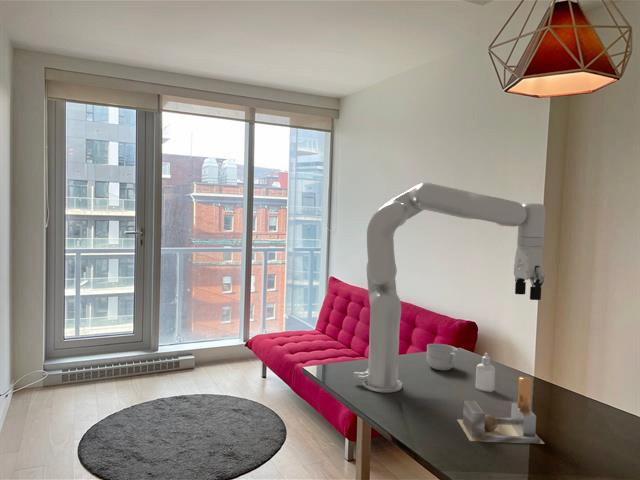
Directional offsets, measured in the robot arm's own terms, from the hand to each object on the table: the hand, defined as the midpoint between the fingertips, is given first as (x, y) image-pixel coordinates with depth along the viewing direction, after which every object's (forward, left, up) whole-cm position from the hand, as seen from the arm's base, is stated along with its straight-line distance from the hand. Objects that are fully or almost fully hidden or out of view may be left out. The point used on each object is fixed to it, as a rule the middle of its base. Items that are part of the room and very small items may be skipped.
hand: (527, 296), depth 152 cm
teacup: (-20, +20, -31) cm, 43 cm away
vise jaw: (-13, -32, -29) cm, 45 cm away
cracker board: (-18, -32, -31) cm, 48 cm away
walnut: (-21, -32, -29) cm, 48 cm away
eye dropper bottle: (-11, +2, -31) cm, 33 cm away
